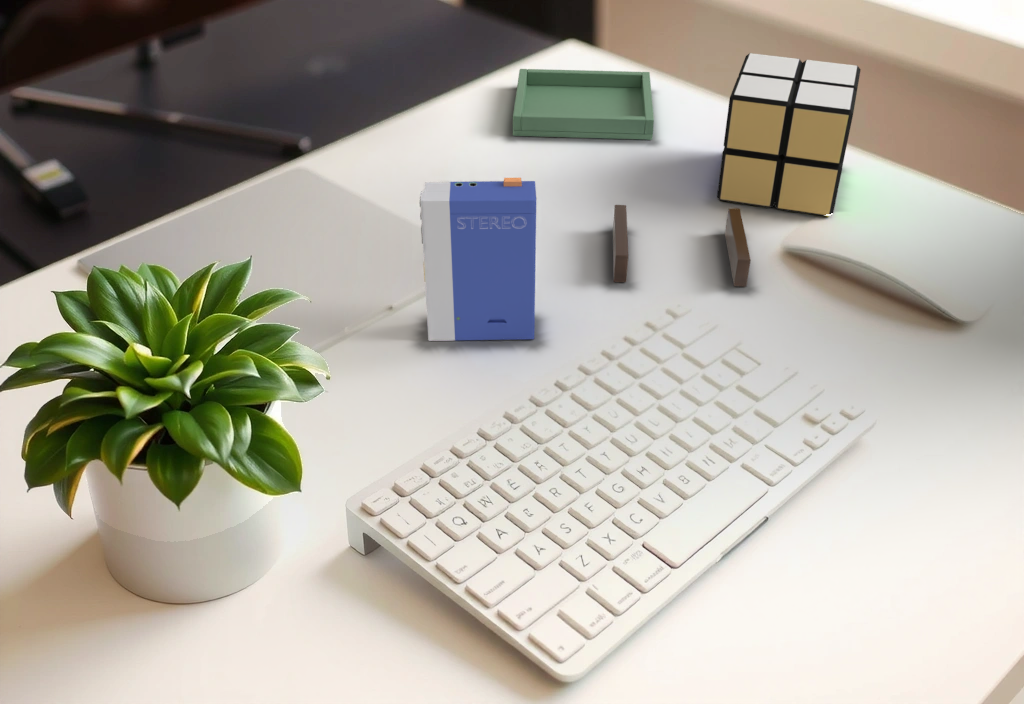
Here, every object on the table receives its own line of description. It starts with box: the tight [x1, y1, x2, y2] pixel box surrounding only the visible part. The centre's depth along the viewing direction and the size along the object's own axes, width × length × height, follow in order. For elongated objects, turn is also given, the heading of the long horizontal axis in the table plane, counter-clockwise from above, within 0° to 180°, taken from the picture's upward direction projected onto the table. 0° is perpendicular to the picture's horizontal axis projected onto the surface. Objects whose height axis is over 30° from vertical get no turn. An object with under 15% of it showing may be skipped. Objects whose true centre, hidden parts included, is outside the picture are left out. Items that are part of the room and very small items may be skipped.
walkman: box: [419, 177, 537, 342], centre depth 77 cm, size 8×3×12 cm, turn 91°
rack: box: [612, 204, 751, 287], centre depth 87 cm, size 10×8×2 cm
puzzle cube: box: [716, 52, 862, 217], centre depth 95 cm, size 10×10×10 cm
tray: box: [512, 68, 655, 141], centre depth 109 cm, size 14×12×2 cm
